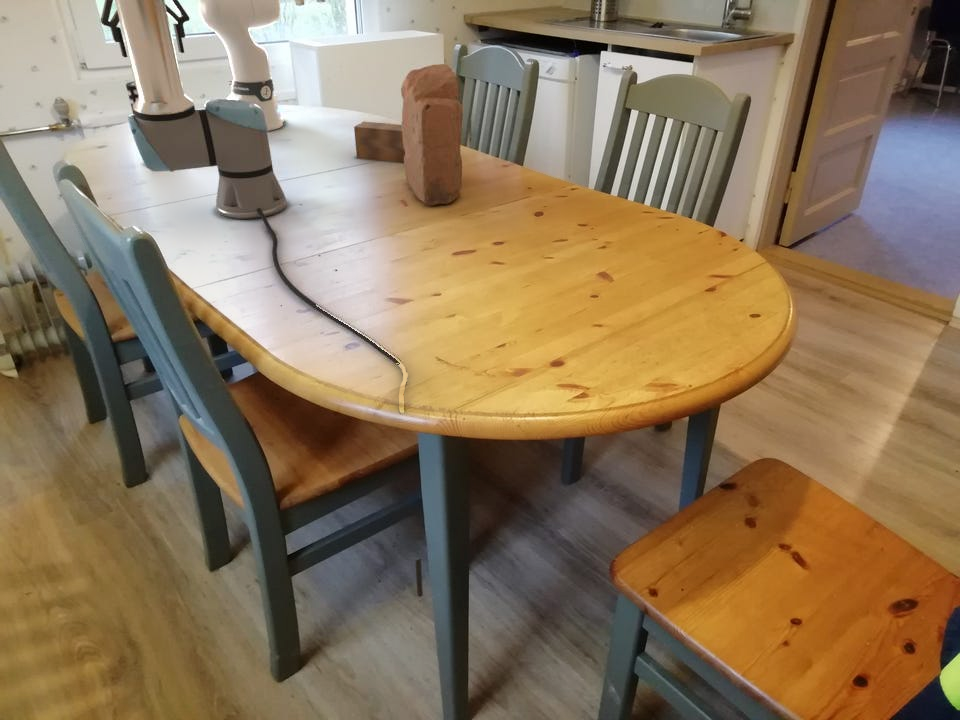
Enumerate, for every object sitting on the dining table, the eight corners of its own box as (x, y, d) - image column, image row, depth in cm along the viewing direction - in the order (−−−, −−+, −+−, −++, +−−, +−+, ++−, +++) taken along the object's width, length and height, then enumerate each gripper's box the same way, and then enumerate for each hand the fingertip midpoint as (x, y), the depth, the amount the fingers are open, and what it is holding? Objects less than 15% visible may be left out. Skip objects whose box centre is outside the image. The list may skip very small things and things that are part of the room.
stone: (471, 203, 161) (470, 74, 147) (425, 208, 158) (419, 77, 144) (446, 179, 178) (443, 61, 164) (404, 183, 175) (396, 64, 161)
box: (445, 159, 191) (444, 128, 187) (438, 166, 186) (437, 134, 182) (365, 152, 197) (363, 121, 192) (356, 158, 192) (353, 126, 187)
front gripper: (182, -44, 171) (200, 48, 183) (71, -43, 160) (97, 56, 171) (190, -43, 166) (208, 52, 178) (75, -42, 155) (102, 60, 166)
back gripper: (317, -58, 185) (323, -1, 192) (269, -57, 169) (277, 6, 177) (337, -58, 183) (342, 0, 190) (290, -56, 167) (297, 8, 175)
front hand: (153, 54), depth 174 cm, fingers open, 13 cm apart
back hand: (310, 3), depth 183 cm, fingers open, 8 cm apart
